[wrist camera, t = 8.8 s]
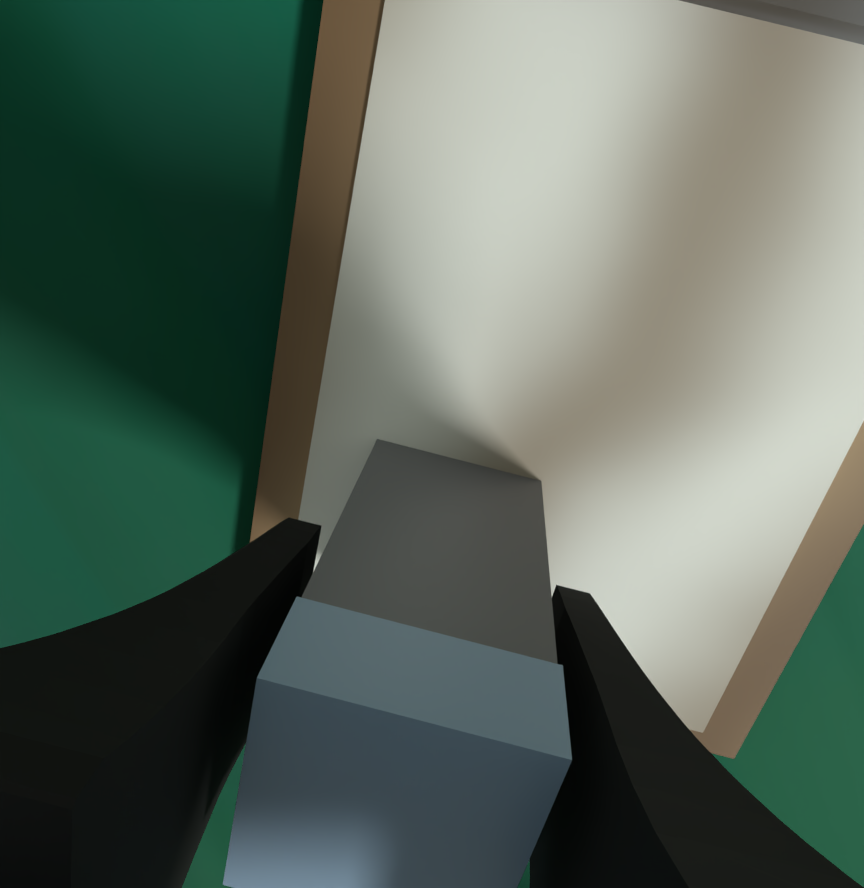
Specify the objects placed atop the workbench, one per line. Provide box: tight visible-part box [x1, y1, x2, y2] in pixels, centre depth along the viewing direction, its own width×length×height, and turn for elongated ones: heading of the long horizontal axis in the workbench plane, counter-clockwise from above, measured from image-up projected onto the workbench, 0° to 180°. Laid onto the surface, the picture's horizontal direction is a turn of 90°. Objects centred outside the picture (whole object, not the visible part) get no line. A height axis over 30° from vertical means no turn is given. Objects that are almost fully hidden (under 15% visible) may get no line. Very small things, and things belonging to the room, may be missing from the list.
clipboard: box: [250, 0, 864, 759], centre depth 13 cm, size 12×16×2 cm
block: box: [223, 439, 572, 888], centre depth 11 cm, size 4×4×7 cm
